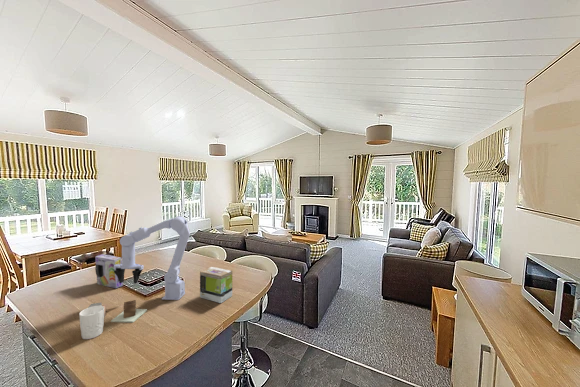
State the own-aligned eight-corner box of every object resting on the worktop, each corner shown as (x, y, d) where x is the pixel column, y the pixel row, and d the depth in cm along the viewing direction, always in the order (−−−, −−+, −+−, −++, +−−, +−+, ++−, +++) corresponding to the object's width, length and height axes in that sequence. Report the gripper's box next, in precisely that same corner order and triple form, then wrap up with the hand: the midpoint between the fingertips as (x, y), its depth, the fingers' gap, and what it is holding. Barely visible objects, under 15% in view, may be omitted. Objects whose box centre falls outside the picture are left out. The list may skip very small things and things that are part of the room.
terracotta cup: (107, 314, 110) (107, 305, 110) (100, 319, 106) (100, 310, 106) (99, 314, 111) (99, 305, 110) (91, 319, 107) (91, 309, 106)
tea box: (232, 295, 131) (233, 270, 131) (220, 304, 122) (220, 276, 121) (212, 290, 138) (212, 265, 137) (199, 297, 128) (199, 271, 128)
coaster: (147, 310, 115) (147, 309, 115) (133, 322, 105) (133, 321, 105) (126, 309, 115) (126, 308, 115) (111, 321, 105) (111, 320, 105)
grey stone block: (101, 310, 114) (101, 302, 114) (98, 314, 110) (97, 306, 110) (91, 311, 113) (91, 303, 113) (87, 316, 109) (87, 308, 109)
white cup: (89, 328, 100) (89, 305, 100) (109, 327, 101) (108, 305, 100) (74, 340, 92) (73, 316, 92) (95, 340, 93) (95, 315, 92)
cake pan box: (94, 283, 143) (94, 255, 142) (103, 280, 148) (103, 253, 147) (114, 289, 136) (114, 259, 135) (123, 286, 141) (123, 257, 140)
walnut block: (135, 310, 113) (135, 299, 113) (135, 315, 109) (135, 304, 109) (124, 313, 111) (124, 302, 110) (123, 318, 107) (123, 306, 107)
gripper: (147, 255, 126) (147, 279, 127) (120, 254, 127) (120, 279, 127) (138, 259, 119) (138, 285, 120) (110, 258, 120) (110, 284, 120)
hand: (128, 282), depth 123 cm, fingers open, 7 cm apart
